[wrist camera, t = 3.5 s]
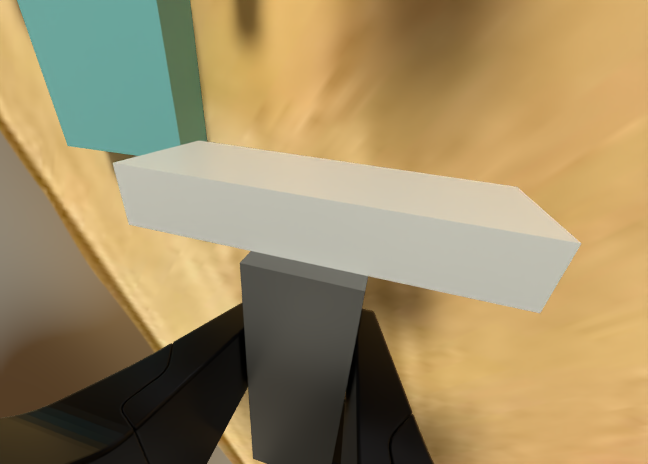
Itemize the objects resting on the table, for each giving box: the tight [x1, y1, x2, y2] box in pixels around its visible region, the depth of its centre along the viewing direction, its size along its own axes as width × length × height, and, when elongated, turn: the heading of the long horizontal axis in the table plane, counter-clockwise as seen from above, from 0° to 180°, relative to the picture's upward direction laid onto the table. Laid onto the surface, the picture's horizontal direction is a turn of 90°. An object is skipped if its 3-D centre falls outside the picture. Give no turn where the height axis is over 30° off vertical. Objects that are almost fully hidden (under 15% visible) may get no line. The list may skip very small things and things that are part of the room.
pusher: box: [113, 141, 581, 464], centre depth 9 cm, size 10×9×4 cm
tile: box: [17, 0, 207, 156], centre depth 14 cm, size 7×7×2 cm
